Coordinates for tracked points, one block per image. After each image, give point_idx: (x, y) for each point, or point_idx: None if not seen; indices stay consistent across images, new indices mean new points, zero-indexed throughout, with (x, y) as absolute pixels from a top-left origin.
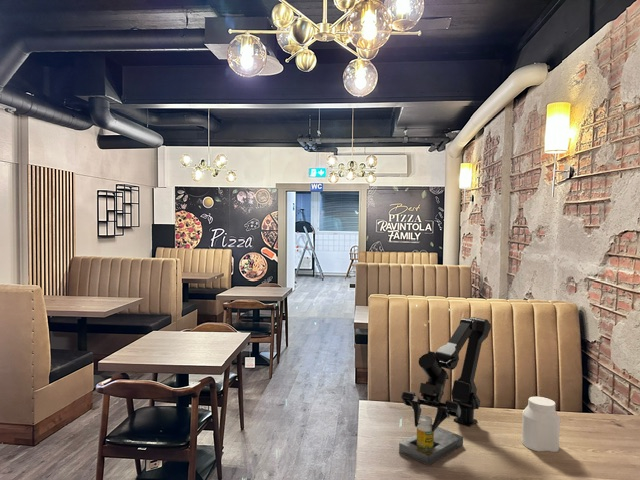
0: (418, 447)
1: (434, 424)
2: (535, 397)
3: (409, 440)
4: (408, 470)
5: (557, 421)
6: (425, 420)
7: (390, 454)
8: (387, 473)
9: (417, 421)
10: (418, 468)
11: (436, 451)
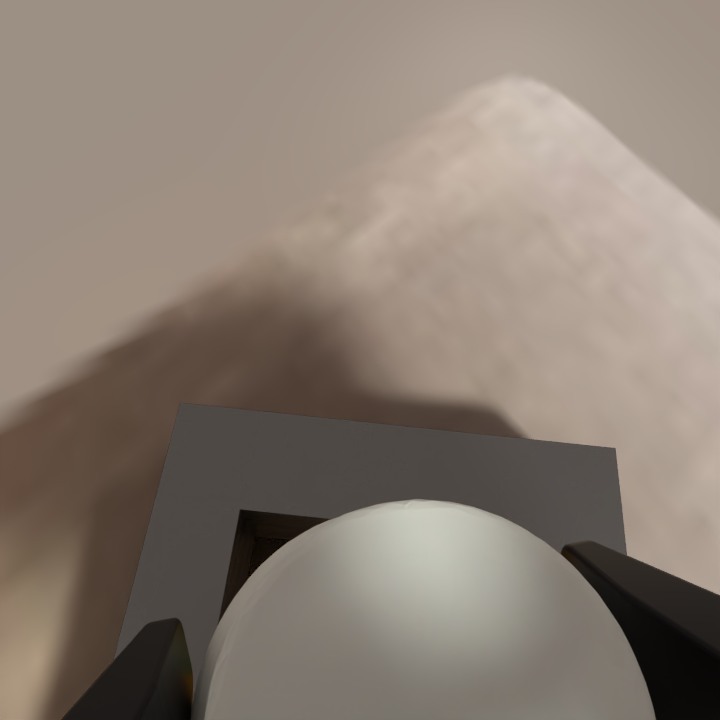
0: None
1: (95, 711)
2: None
3: None
4: (309, 269)
5: None
6: (347, 552)
7: (590, 383)
8: (405, 152)
9: None
10: (257, 347)
11: (133, 585)
